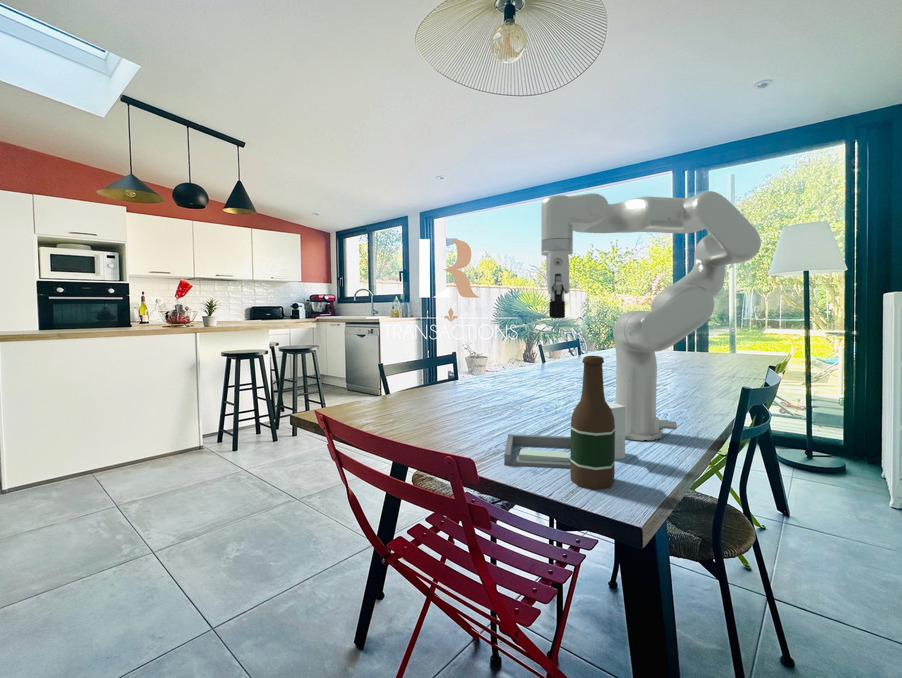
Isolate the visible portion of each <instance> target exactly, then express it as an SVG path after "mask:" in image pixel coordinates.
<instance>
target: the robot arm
mask: <svg viewBox="0 0 902 678" xmlns="http://www.w3.org/2000/svg"><path fill="white" fill-rule="evenodd" d="M540 209H541V219H540V221H541V227H540V228H541V230H540V231H541V233H540V234H541V247H540V248H541V250H540V251H541V256H545V257H546V258H545V260H546V262H545V263H546V264H545V265H546V267H545V268H546V269H545V270H546V285H547V293H548V294H549V295H550V297H549V298H550V299H549V303H548V304H549V306H548V307H549V310H548V311H549V313H548V314H549V318H552V319H564V318H566V311H565V310H566V301H565V295H567V294H569V293H570V289H571V288H570V258H569V255H573V254H574V253H573V252H574V251H573V250H574V249H573V248H574V247H573V246H574V243H573V241H574V240H573V238H574V236H573V234H574V233H575V232H576V233H582V234H583V233H585V234H586V233H587V234H615V233H617V234H620V233H622V234H623V233H625V234H627V233H628V234H631V233H657V234H658V233H661V234H692V233H697V232H700V231H704V230H706V232H707V233H708V234H707V235H705V236H704V237H702V238H701V239H700V240H699V241H698V243H697V245H696V246H695V251H694V261H693V262H694V264H693V267H692V269H691V270H690V272H688V273H687V274H686V275H684V276H683V277H682V278H680V279H678V281H677V280H676V281H675V282H674V283H673V284H671V285H670V286H668V287H666V288H665V289H663V290H662V291H660V292H658V294H657V295H656V296H655V297H654V298H653V300H652V301H651V304H650V310H630V311H627V312H625V313H623V314H621V315H620V316H619V317H618V318H617V320H616V322H615V323H614V327H613V340H614V347H615V357H616V360H615V362H616V363H615V364H616V365H615V366H616V370H615V371H616V372H615V373H616V374H615V375H616V377H615V403H616V404H619V405H622V406H625V407H626V421H625V440H632V441H644V440H647V441H656V440H659V439H661V438H662V437H663V430H664V429H667V430H677V428H678V425H677V424H678V423H677V422H676V421H671V420H670V421H669V420H668V419H659V418H658V417H657V381H658V380H657V379H658V378H657V377H658V376H657V374H658V363H657V356H656V352H662V351H665V350H667V349H669V348H670V347H672V346H675V345H676V344H677V343H679V342H681V341H682V340H683V339H684V338H686V337H688V336H689V335H690V334H692V333H694V331H696V330H698V329H700V328H701V327H702V326H703V325H705V324H706V323H707V322H708V321H709V319H710V318H711V317H712V315H713V313H714V310H715V297H716V296H718V294H719V293H720V292H721V290H722V289H723V287H724V284H725V278H726V266H727V265H733V264H739V263H745V262H747V261H750V260H752V259H753V258H754V257H755V256H757V254H758V253H759V251H760V249H761V246H762V245H761V243H762V241H761V236H760V235H759V232H758V230H757V229H756V228H755V226H753V224H752V223H751V222H750V220H748V219H747V218H746V217H745V216H744V215H743V214H742V212H740V210H739V209H738V208H737V207H736V206H735V205H734V204H733V203H731V201H729V200H728V198H726V197H725V196H723V195H722V194H721V193H718V192H716V191H713V190H706V191H702V192H700V193H698V194H696V195H693V196H690V197H686V198H685V197H665V196H641V197H636V198H632V199H629V200H625V201H621V202H616V203H609V202H608V199H606V198H605V196H603V195H601V194H599V193H593V192H592V193H584V194H578V195H571V196H570V195H569V196H568V195H565V194H561V195H559V194H558V195H556V194H555V195H551V196H548V197H545V198H544V199H543V200H542V203H541V208H540ZM573 232H574V233H573ZM658 438H659V439H658ZM655 439H656V440H655Z"/></svg>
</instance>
